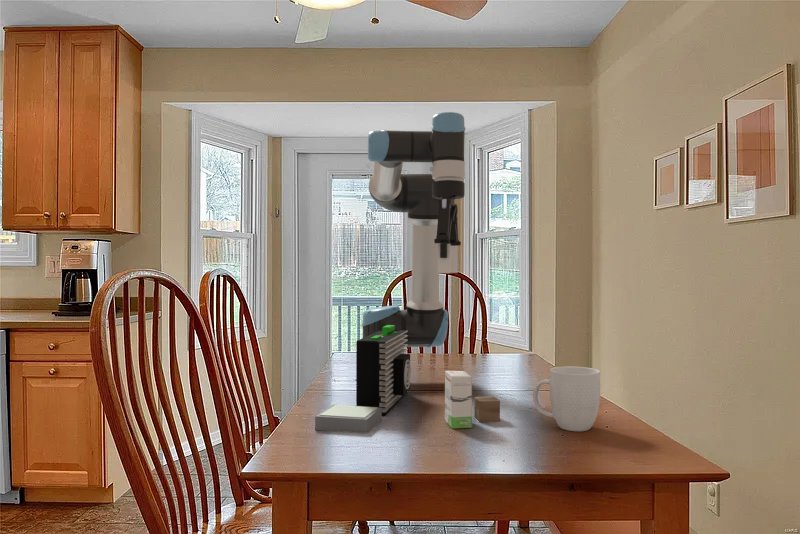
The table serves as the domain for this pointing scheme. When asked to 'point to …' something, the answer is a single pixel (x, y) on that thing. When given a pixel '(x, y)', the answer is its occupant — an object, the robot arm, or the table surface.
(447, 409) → the ink box
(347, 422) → the stand
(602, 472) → the table surface
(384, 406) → the electronic device
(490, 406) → the walnut block
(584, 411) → the mug
